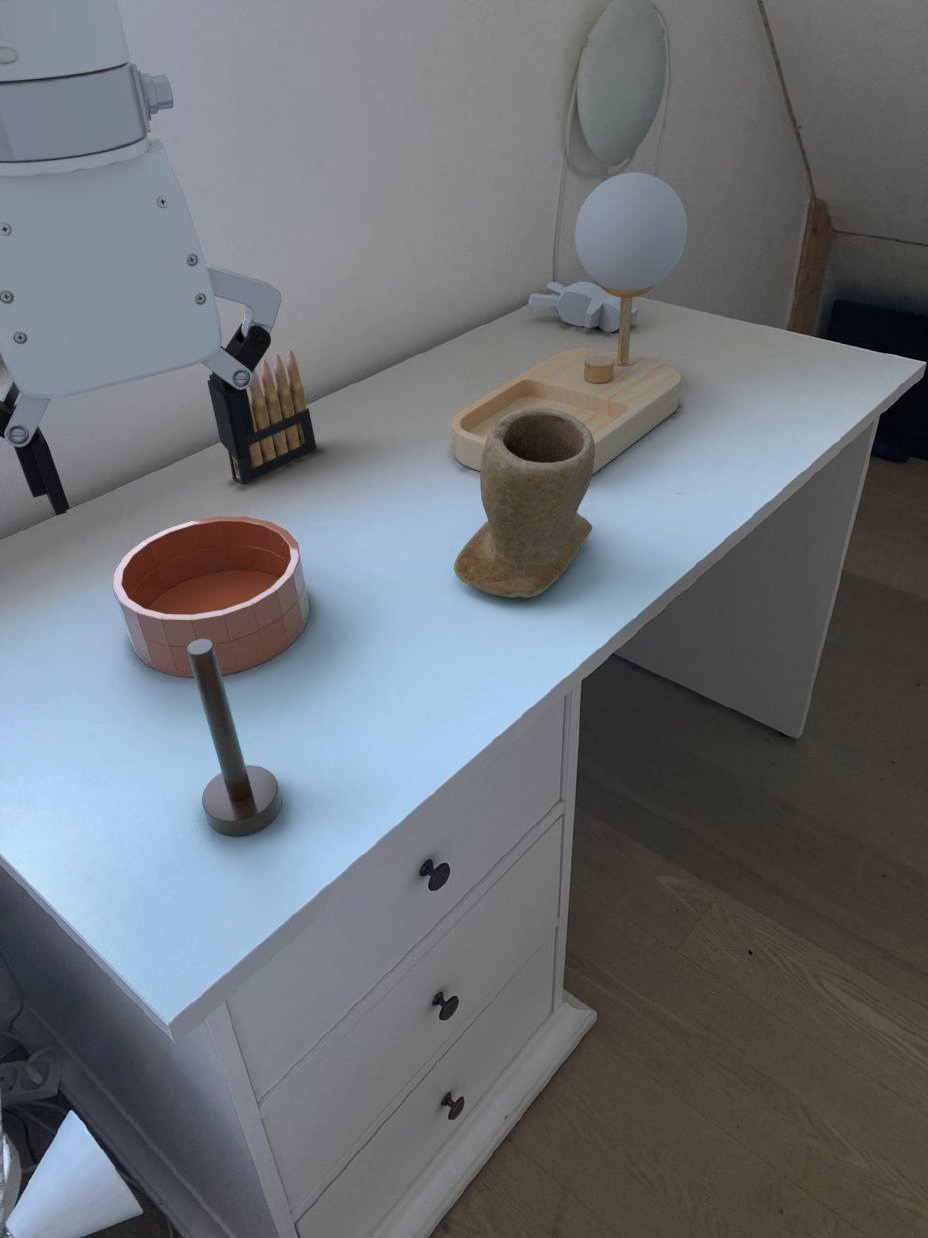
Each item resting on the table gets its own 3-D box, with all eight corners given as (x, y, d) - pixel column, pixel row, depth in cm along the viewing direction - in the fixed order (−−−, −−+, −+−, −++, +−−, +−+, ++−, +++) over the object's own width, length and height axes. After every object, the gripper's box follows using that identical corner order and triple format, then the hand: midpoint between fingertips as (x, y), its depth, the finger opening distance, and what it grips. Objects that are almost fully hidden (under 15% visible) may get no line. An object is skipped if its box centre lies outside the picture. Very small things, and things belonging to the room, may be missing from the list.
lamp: (561, 499, 98) (567, 248, 83) (433, 457, 107) (416, 222, 91) (707, 387, 118) (732, 169, 103) (589, 359, 127) (596, 154, 112)
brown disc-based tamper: (221, 848, 64) (171, 686, 55) (196, 800, 67) (145, 639, 58) (293, 815, 66) (255, 653, 57) (264, 770, 69) (225, 610, 60)
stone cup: (555, 623, 81) (559, 469, 72) (438, 588, 86) (427, 439, 77) (623, 538, 92) (633, 393, 83) (514, 510, 97) (513, 371, 88)
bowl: (159, 702, 76) (141, 644, 72) (111, 605, 87) (93, 550, 83) (337, 635, 82) (328, 578, 78) (271, 552, 92) (260, 499, 89)
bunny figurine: (619, 312, 129) (524, 284, 135) (613, 348, 132) (521, 319, 138) (648, 292, 135) (556, 265, 141) (641, 326, 139) (552, 299, 144)
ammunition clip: (306, 444, 111) (290, 344, 103) (317, 448, 110) (301, 348, 102) (232, 479, 105) (210, 376, 97) (242, 484, 104) (220, 381, 96)
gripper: (218, 84, 46) (276, 410, 56) (-180, 135, 39) (-32, 494, 50) (274, 104, 41) (327, 459, 51) (-174, 166, 34) (-9, 560, 45)
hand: (150, 476), depth 50 cm, fingers open, 9 cm apart
